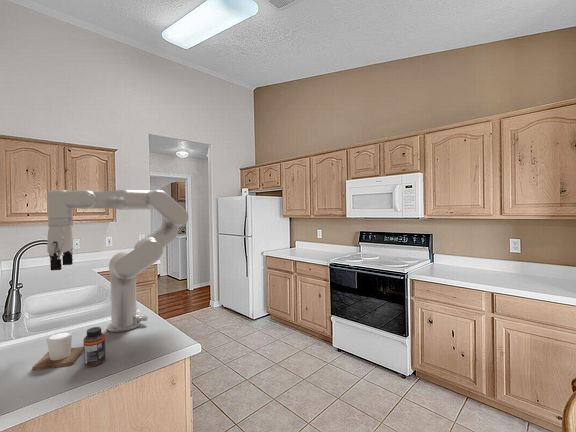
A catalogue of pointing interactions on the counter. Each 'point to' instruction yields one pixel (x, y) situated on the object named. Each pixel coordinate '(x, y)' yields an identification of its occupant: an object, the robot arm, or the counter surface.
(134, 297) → the robot arm
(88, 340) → the supplement bottle
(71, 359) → the coaster
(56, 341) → the white cup
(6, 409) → the counter surface
